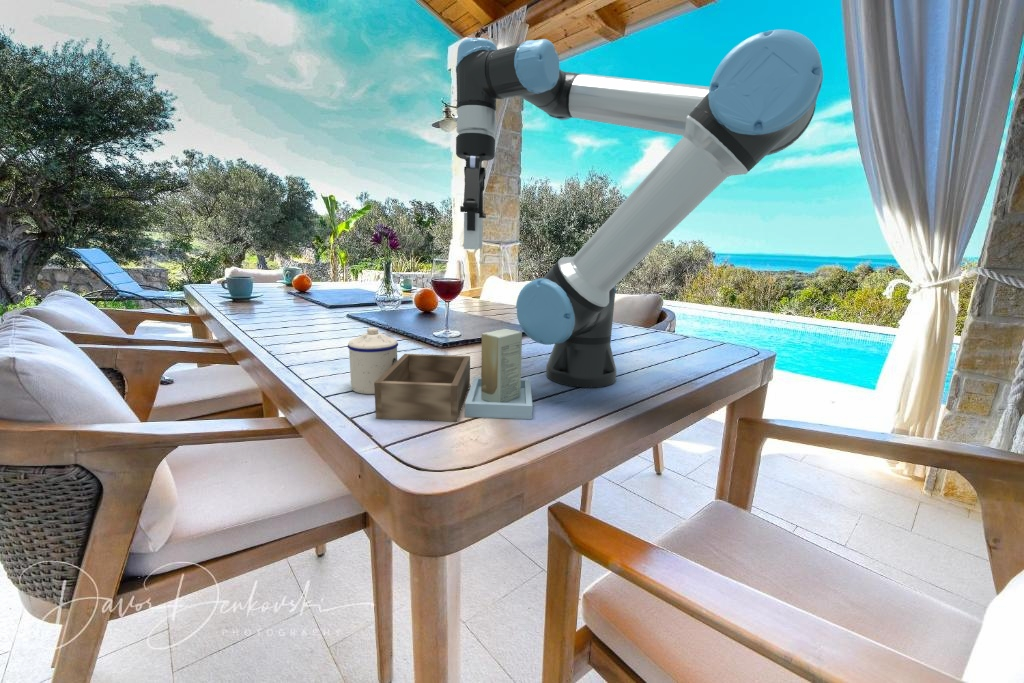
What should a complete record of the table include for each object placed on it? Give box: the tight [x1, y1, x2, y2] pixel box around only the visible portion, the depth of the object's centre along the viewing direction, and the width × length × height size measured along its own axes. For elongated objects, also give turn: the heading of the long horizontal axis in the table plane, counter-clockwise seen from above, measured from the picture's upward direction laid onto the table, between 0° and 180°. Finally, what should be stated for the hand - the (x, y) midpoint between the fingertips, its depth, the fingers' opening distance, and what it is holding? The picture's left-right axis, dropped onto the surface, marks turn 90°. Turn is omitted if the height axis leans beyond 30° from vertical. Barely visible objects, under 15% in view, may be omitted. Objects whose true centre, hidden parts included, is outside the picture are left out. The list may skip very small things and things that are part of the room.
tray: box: [464, 376, 533, 420], centre depth 75 cm, size 11×14×2 cm
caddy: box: [374, 353, 471, 422], centre depth 74 cm, size 13×18×6 cm
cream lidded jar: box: [347, 327, 399, 395], centre depth 80 cm, size 12×9×12 cm
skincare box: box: [480, 328, 523, 403], centre depth 73 cm, size 6×4×12 cm
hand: (473, 249), depth 85 cm, fingers open, 13 cm apart
